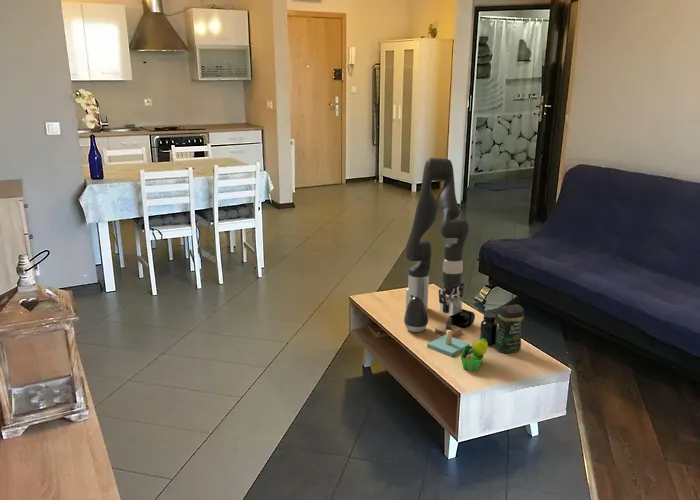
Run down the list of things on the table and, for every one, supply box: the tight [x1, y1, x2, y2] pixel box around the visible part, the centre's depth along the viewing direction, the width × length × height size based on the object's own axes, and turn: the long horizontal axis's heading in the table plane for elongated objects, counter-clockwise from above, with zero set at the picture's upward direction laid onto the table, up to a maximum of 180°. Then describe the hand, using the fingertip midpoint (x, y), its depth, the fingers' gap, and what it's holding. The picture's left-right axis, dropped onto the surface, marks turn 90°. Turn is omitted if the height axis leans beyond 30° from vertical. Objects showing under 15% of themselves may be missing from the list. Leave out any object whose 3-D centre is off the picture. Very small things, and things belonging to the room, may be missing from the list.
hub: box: [426, 330, 471, 357], centre depth 232 cm, size 12×12×7 cm
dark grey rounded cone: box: [403, 295, 429, 333], centre depth 247 cm, size 10×10×15 cm
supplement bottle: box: [479, 313, 499, 347], centre depth 235 cm, size 7×7×12 cm
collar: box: [439, 295, 463, 316], centre depth 228 cm, size 6×6×5 cm
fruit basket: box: [460, 338, 488, 372], centre depth 216 cm, size 11×9×11 cm
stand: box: [434, 316, 463, 338], centre depth 245 cm, size 8×8×7 cm
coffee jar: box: [494, 303, 525, 354], centre depth 228 cm, size 10×8×19 cm
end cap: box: [447, 308, 476, 330], centre depth 254 cm, size 10×7×7 cm
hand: (450, 310), depth 228 cm, fingers closed on collar, 6 cm apart
